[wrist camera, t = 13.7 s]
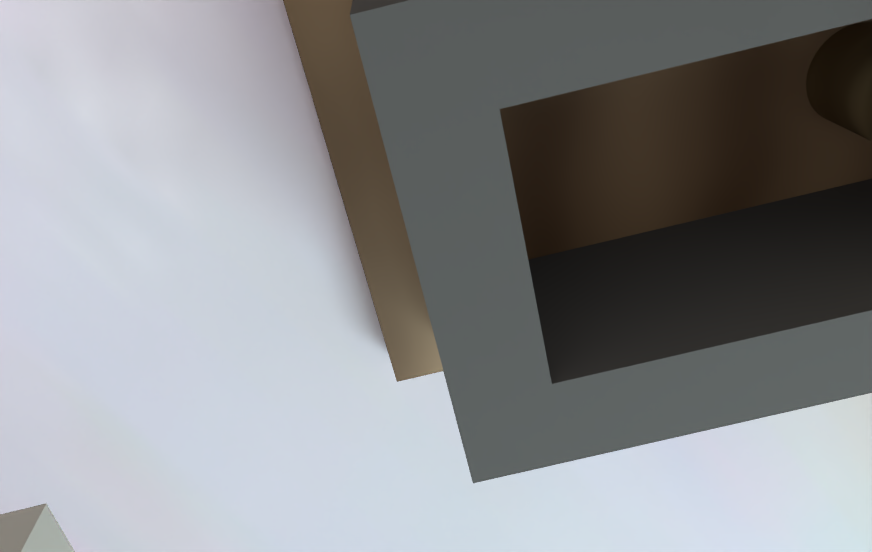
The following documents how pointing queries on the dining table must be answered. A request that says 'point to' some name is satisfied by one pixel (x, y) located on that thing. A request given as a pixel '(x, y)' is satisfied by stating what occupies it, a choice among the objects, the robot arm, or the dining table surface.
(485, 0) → the grey storage bin
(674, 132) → the hook board
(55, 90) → the dining table surface
